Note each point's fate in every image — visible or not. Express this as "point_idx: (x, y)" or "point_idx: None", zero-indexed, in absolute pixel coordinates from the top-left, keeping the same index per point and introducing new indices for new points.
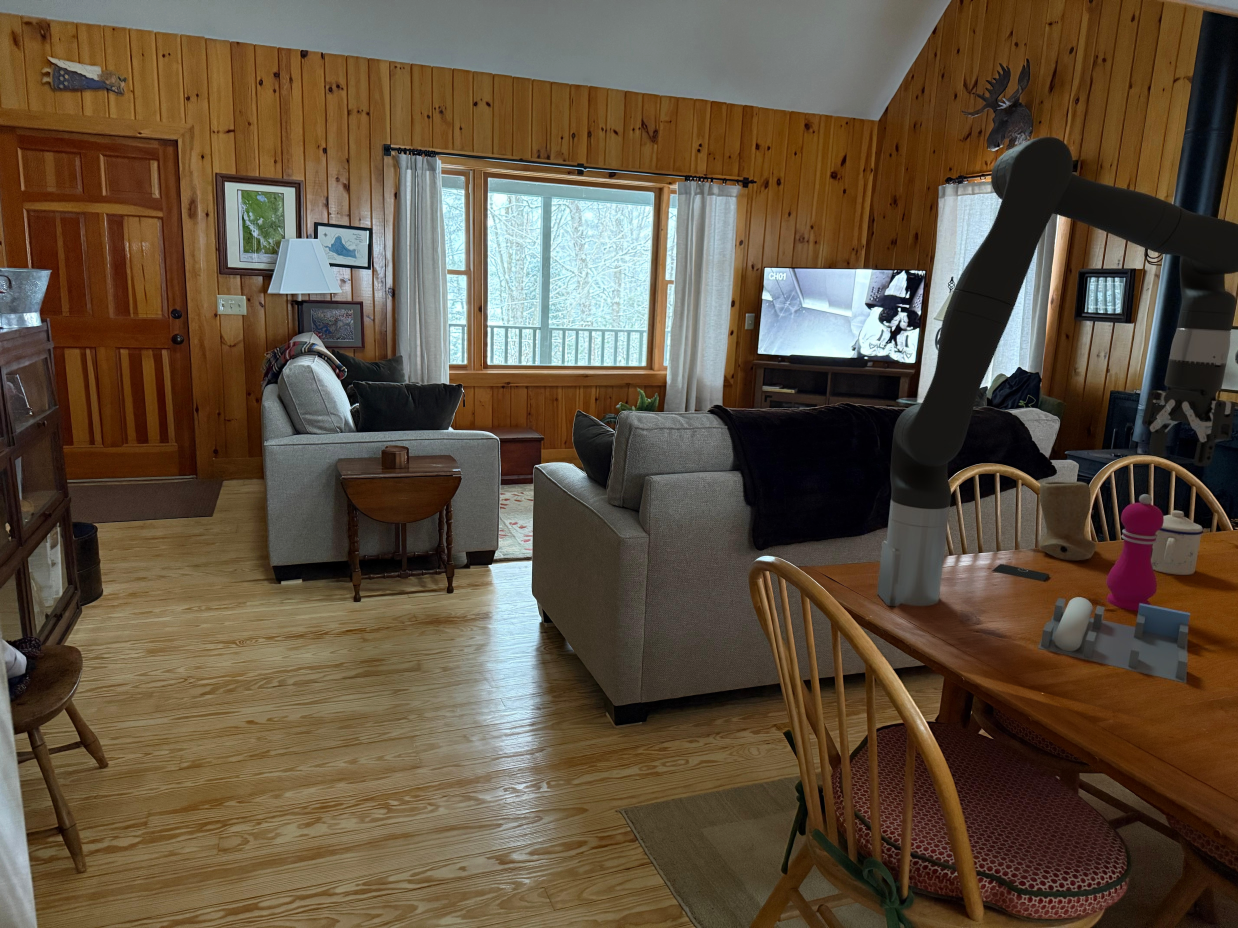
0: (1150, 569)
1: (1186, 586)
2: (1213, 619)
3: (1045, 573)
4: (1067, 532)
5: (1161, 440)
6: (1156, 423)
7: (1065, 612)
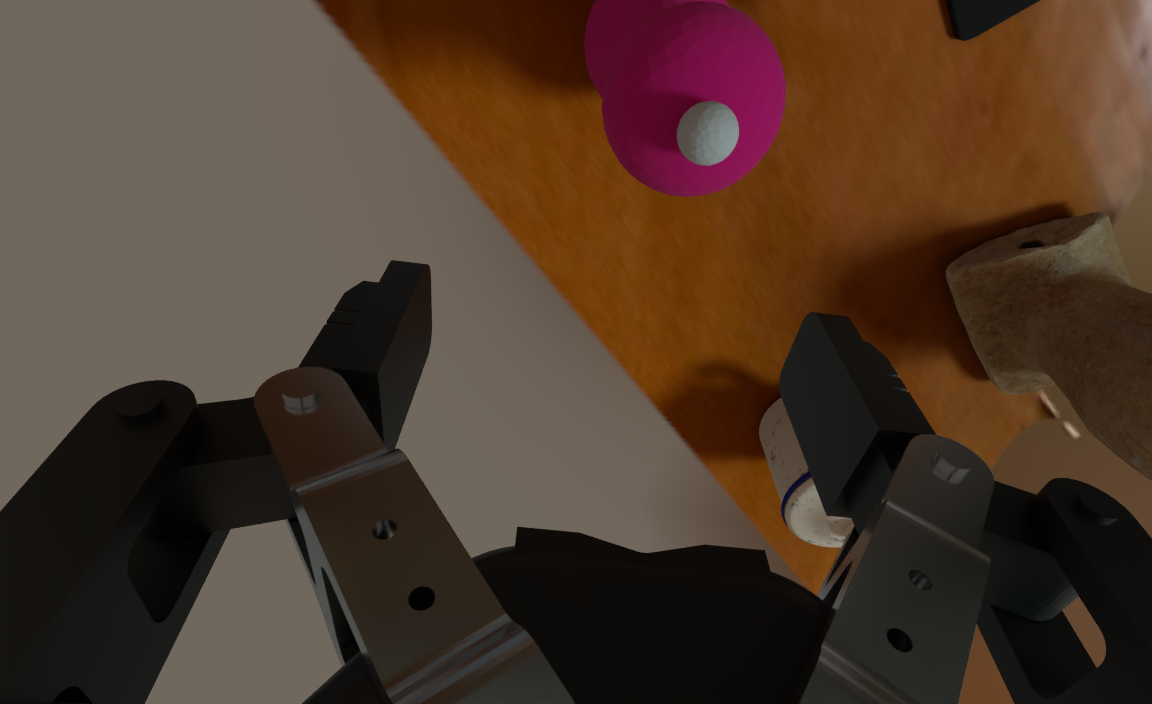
0: (607, 69)
1: (712, 355)
2: (527, 210)
3: (973, 29)
4: (1073, 307)
5: (825, 428)
6: (942, 503)
7: None
